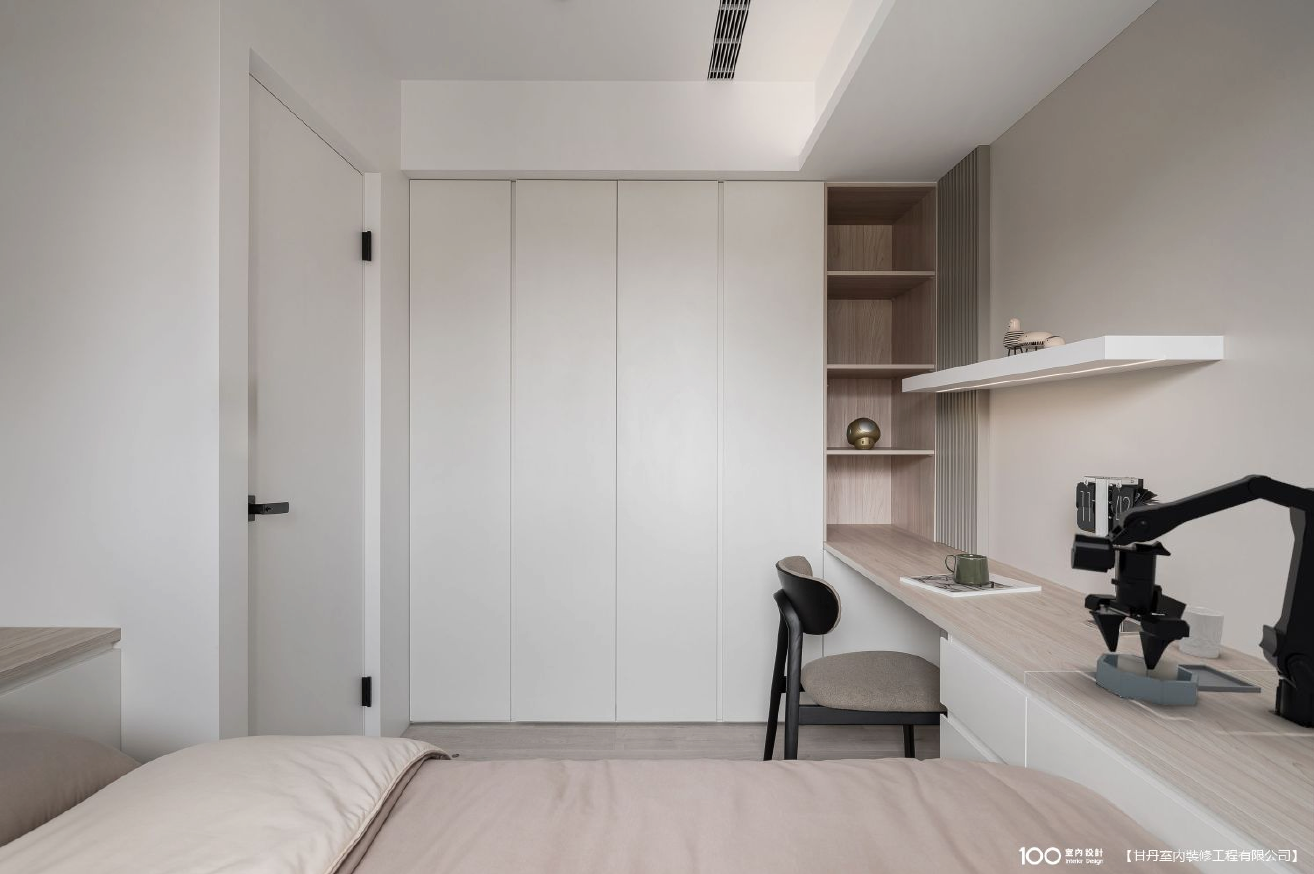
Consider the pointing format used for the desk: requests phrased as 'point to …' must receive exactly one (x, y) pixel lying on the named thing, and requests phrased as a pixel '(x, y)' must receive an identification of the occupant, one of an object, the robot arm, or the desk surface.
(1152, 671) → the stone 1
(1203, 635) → the white cup
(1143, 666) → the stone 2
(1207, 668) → the parts tray
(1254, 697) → the desk surface
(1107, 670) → the bowl
